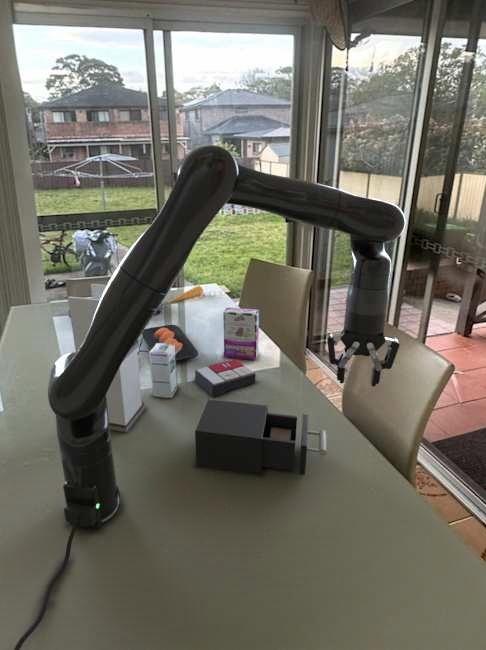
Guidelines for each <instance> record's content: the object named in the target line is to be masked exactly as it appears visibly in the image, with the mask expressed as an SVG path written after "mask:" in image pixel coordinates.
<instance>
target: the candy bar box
mask: <svg viewBox="0 0 486 650" xmlns="http://www.w3.org/2000/svg"><path fill="white" fill-rule="evenodd" d="M259 326H260V310H259V309H254V308H241V307H240V308H239V307H226V308H225V310H224V311H223V358H231V359H239V360H241V359H242V360H243V359H244V360H252V361H256V360H257V358H258V356H259V343H260V342H259V336H260V335H259V331H260V330H259V329H260V327H259Z"/></svg>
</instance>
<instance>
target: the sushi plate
mask: <svg viewBox="0 0 486 650" xmlns="http://www.w3.org/2000/svg"><path fill="white" fill-rule="evenodd" d="M141 336H142V337H141V340H140V342H139V351H138V352H137V353H138V355H140V353H149V352H150V351H151V349H152V348H153V347H154V346H155V345H156V343H167V344H173V345H175V358H176V362H179V361H184V360H188V359H189V360H190V359H193V358H196V357H198V356H199V351H198V350H197V348H196V347H195V346H194V344H193V343H192V342H191V340H190V339H189V338H188V337H187V335H186V334H185V333H184V331H183V330H182V329H181V328H180V327H179V326H178V325H176V324H165V325H160V326H154V327H153V326H152V327H148V328H147V327H146V328H145V329H144V330H143V332H142V334H141ZM143 340H144V341H145V343H146V345H147V347H148V348H149V350H142V349H141V347H142V343H143Z"/></svg>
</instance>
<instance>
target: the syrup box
mask: <svg viewBox="0 0 486 650" xmlns="http://www.w3.org/2000/svg"><path fill="white" fill-rule="evenodd" d="M149 351H150V352H148V355H149V365H150V377H151V385H152V386H151V388H152V396H153V397H157V398H166V399H172V398H173V396H174V395H175V393H176V391H177V389H178V374H177V372H178V371H177V361H176V358H175V345H173V344H167V343H156V345H155V346H154V347H153V348H152V349H151V350H149Z"/></svg>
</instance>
